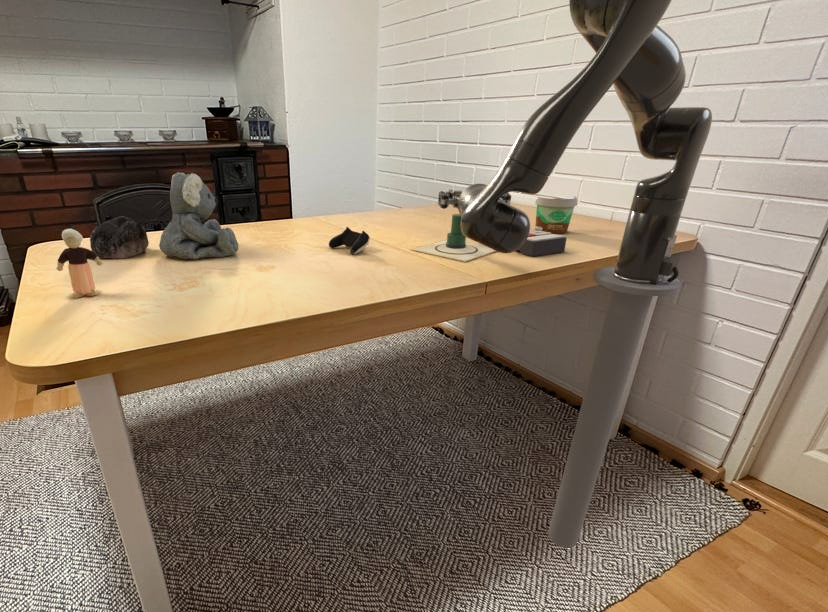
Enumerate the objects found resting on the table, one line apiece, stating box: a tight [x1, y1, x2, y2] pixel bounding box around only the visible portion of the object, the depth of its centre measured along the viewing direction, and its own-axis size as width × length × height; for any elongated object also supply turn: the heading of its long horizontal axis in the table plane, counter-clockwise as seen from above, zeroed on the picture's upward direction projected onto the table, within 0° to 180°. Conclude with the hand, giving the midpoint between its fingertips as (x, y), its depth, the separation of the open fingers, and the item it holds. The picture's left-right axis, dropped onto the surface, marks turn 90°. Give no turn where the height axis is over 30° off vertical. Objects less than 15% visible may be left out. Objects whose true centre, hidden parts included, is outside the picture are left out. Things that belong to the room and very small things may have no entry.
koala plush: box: [158, 171, 239, 260], centre depth 115 cm, size 17×18×20 cm
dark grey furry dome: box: [89, 215, 150, 259], centre depth 118 cm, size 13×14×10 cm
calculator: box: [517, 228, 567, 257], centre depth 122 cm, size 11×4×15 cm
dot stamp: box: [446, 213, 467, 249], centre depth 121 cm, size 5×5×8 cm
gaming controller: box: [328, 226, 371, 255], centre depth 121 cm, size 11×4×7 cm
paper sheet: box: [412, 239, 497, 263], centre depth 121 cm, size 16×16×1 cm
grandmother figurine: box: [56, 228, 104, 299], centre depth 88 cm, size 8×4×13 cm, turn 126°
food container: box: [534, 195, 578, 235], centre depth 137 cm, size 12×6×10 cm, turn 95°
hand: (469, 194), depth 103 cm, fingers open, 8 cm apart
